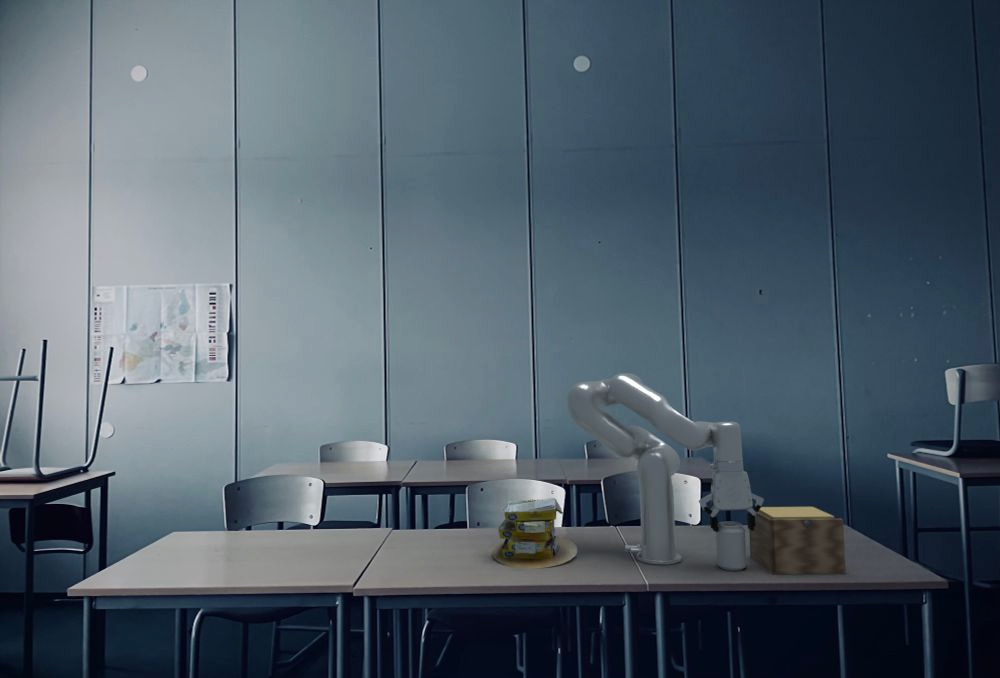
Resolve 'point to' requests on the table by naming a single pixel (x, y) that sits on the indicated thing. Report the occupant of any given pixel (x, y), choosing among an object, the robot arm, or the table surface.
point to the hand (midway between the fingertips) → (733, 530)
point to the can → (731, 546)
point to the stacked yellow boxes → (532, 536)
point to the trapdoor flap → (794, 513)
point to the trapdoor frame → (798, 545)
